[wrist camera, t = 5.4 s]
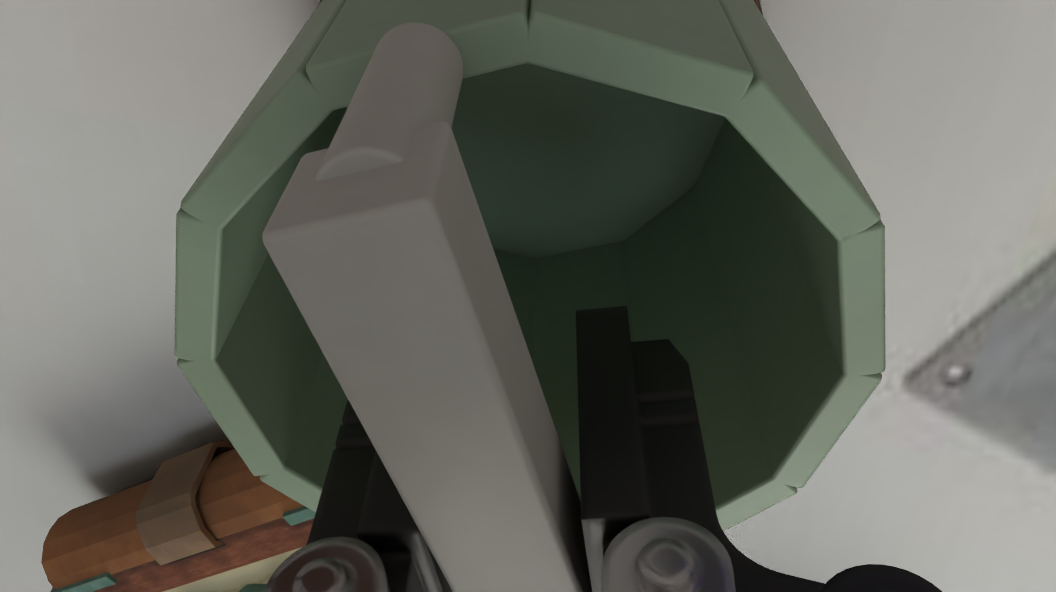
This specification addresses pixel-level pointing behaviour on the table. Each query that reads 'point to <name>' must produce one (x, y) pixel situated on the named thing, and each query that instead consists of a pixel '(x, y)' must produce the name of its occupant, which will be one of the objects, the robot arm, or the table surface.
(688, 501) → the robot arm
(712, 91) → the bin
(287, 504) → the decorative book
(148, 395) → the table surface
